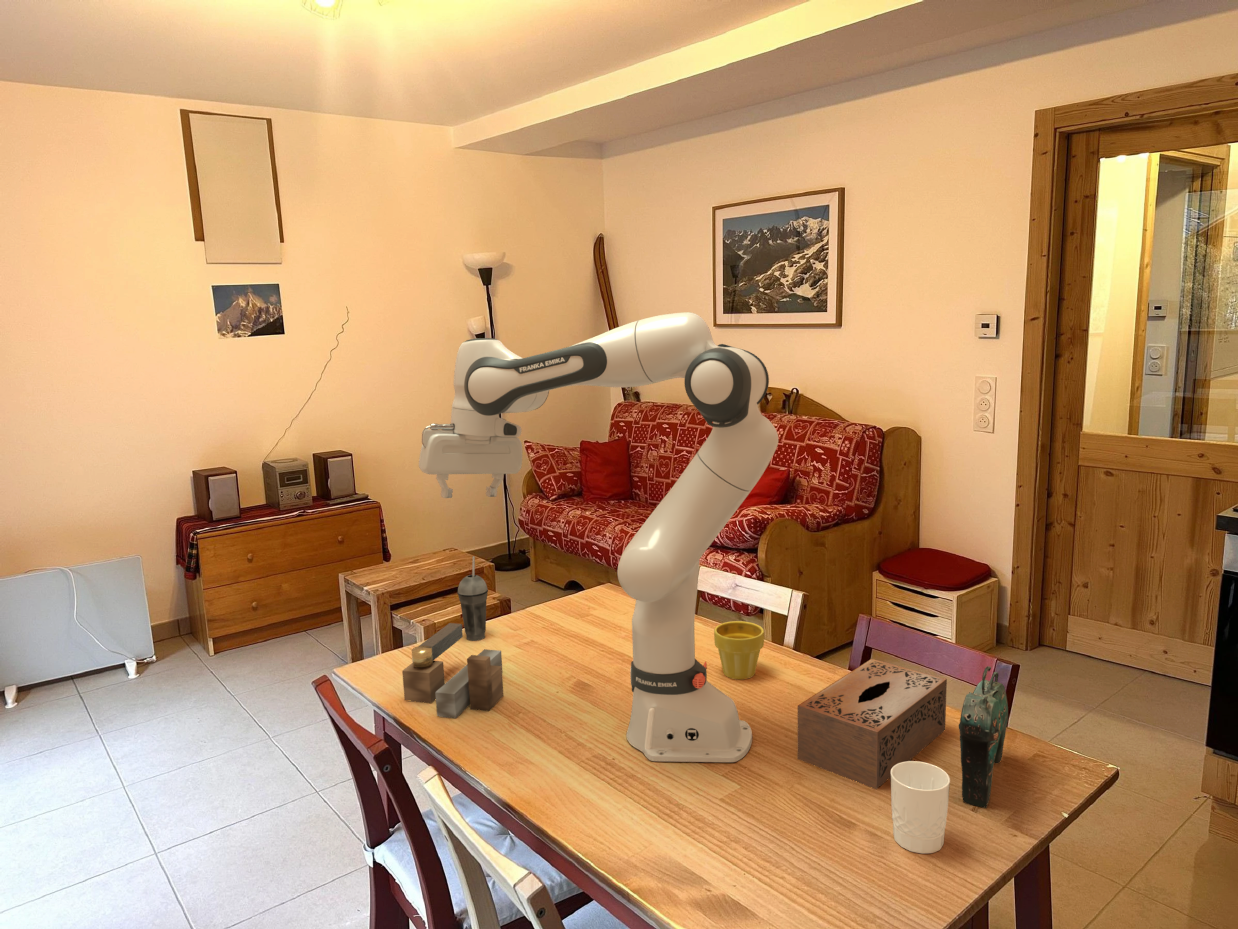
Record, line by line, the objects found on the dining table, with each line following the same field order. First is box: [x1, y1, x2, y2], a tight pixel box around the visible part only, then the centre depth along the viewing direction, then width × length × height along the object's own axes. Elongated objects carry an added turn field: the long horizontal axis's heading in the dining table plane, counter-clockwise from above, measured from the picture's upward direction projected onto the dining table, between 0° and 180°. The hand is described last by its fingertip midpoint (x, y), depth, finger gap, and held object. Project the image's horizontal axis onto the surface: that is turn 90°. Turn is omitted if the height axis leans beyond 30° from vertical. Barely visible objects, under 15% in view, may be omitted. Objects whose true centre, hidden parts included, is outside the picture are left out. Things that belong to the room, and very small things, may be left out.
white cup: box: [890, 760, 951, 854], centre depth 120 cm, size 8×8×10 cm
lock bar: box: [411, 622, 464, 667], centre depth 178 cm, size 17×4×3 cm, turn 164°
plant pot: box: [713, 620, 765, 680], centre depth 178 cm, size 10×10×10 cm
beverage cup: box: [457, 555, 489, 642], centre depth 203 cm, size 7×7×20 cm
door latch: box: [401, 649, 504, 719], centre depth 174 cm, size 19×22×10 cm
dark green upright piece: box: [958, 665, 1009, 809], centre depth 134 cm, size 20×6×20 cm, turn 147°
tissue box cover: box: [797, 658, 948, 790], centre depth 147 cm, size 26×14×10 cm, turn 136°
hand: (469, 497), depth 161 cm, fingers open, 8 cm apart
